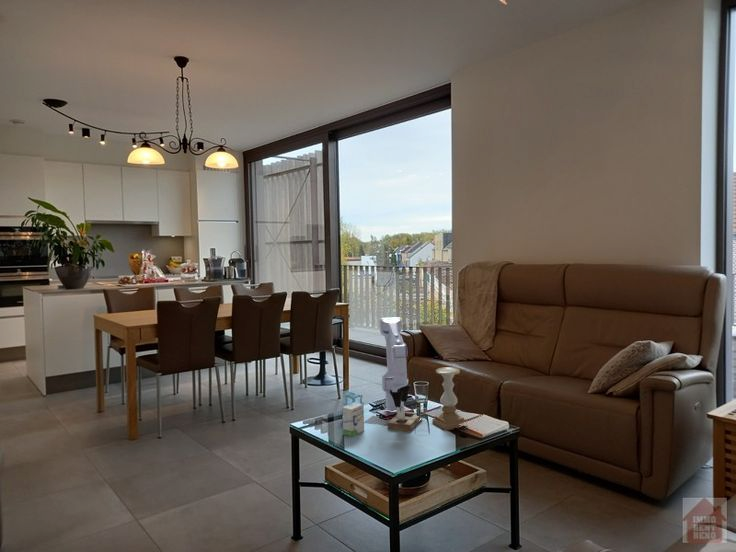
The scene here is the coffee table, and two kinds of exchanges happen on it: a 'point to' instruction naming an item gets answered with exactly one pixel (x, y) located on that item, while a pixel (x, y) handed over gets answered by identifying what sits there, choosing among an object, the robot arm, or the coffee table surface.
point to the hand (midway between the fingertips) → (401, 404)
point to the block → (409, 424)
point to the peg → (401, 414)
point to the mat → (376, 420)
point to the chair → (352, 396)
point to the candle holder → (448, 401)
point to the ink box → (353, 419)
